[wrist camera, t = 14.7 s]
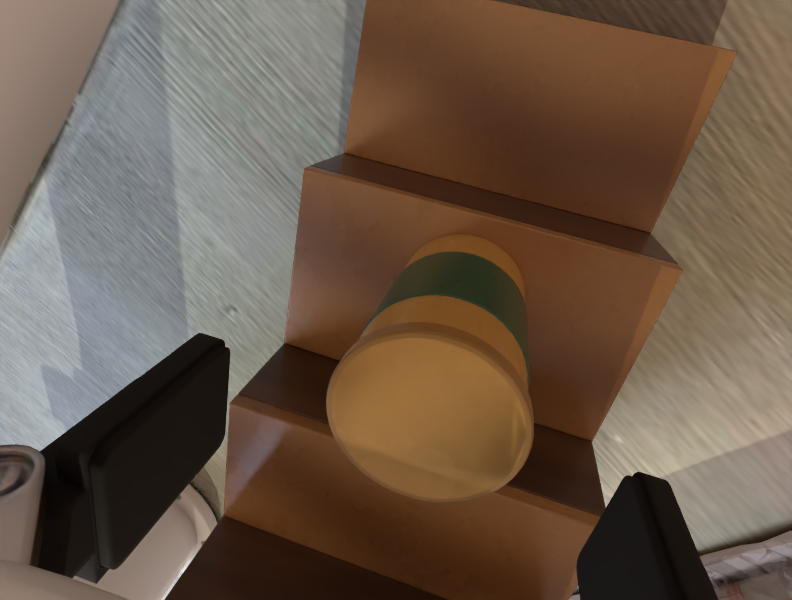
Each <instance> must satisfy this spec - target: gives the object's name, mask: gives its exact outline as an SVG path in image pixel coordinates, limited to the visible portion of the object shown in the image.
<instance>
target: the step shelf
mask: <svg viewBox="0 0 792 600" xmlns="http://www.w3.org/2000/svg"><path fill="white" fill-rule="evenodd" d="M736 54H737V51H733V50H728V49H724V48H719V47H714V46H709V45H705V44H700V43H695V42H690V41H686V40H681V39H676V38H671V37H667V36H662V35H657V34H652V33H647V32H643V31H638V30H633V29H628V28H624V27H619V26H614V25H609V24H605V23H600V22H595V21H590V20H586V19H581V18H576V17H571V16H567V15H562V14H557V13H552V12H548V11H543V10H538V9H533V8H529V7H524V6H519V5H514V4H510V3H505V2H500V1H495V0H367V1H366V8H365V15H364V21H363V28H362V34H361V41H360V48H359V54H358V61H357V68H356V74H355V81H354V88H353V94H352V101H351V108H350V114H349V121H348V128H347V134H346V141H345V147H344V153H343V154H341V155H338V156H335V157H333V158H330V159H327V160H324V161H322V162H319V163H316V164H314V165H311V166H309V167H306V168H305V169H304V175H303V184H302V193H301V201H300V210H299V219H298V227H297V236H296V245H295V254H294V262H293V271H292V280H291V288H290V297H289V306H288V314H287V323H286V332H285V341H284V344H283V345H282V347H281V348H280V349H279V350H278V351H277V352H276V353H275V354H274V355H273V356H272V357H271V358H270V360H269V361H268V362H267V363H266V364H265V365H264V366H263V367H262V368H261V369H260V370H259V371H258V373H257V374H256V375H255V376H254V377H253V378H252V379H251V380H250V381H249V382H248V383H247V385H246V386H245V387H244V388H243V389H242V390H241V391H240V392H239V394H238V395H237V396H236V397H235V398H234V399H233V400H232V401H231V402H230V409H229V427H228V445H227V463H226V481H225V498H224V516H222V518H221V519H220V521H219V522H218V523H217V525H216V526H215V528H214V529H213V531H212V532H211V533H210V535H209V536H208V538H207V539H206V541H205V542H204V544H203V545H202V546H201V548H200V549H199V551H198V552H197V554H196V555H195V557H194V558H193V559H192V561H191V562H190V564H189V565H188V567H187V568H186V570H185V571H184V572H183V574H182V575H181V577H180V578H179V580H178V581H177V583H176V584H175V585H174V587H173V588H172V590H171V591H170V593H169V594H168V596H167V597H166V598H165V600H569V598H570V597H571V595H572V594H573V592H574V590H575V589H576V587H577V586H578V579H577V572H576V565H577V559H578V556H579V553H580V552H581V550H582V548H583V546H584V545H585V543H586V541H587V540H588V538H589V536H590V534H591V533H592V531H593V529H594V528H595V526H596V524H597V523H598V521H599V519H600V517H601V516H602V514H603V512H604V511H605V509H606V507H605V503H604V498H603V493H602V488H601V483H600V479H599V474H598V469H597V464H596V459H595V454H594V450H593V445H592V441H593V439H594V437H595V435H596V433H597V432H598V430H599V428H600V426H601V424H602V422H603V420H604V418H605V417H606V415H607V413H608V411H609V409H610V407H611V405H612V403H613V401H614V400H615V398H616V396H617V394H618V392H619V390H620V388H621V386H622V385H623V383H624V381H625V379H626V377H627V375H628V373H629V371H630V369H631V368H632V366H633V364H634V362H635V360H636V358H637V356H638V354H639V352H640V351H641V349H642V347H643V345H644V343H645V341H646V339H647V337H648V336H649V334H650V332H651V330H652V328H653V326H654V324H655V322H656V320H657V319H658V317H659V315H660V313H661V311H662V309H663V307H664V305H665V304H666V302H667V300H668V298H669V296H670V294H671V292H672V290H673V288H674V287H675V285H676V283H677V281H678V279H679V277H680V275H681V273H682V271H683V269H682V268H681V267H680V266H679V265H678V263H677V262H676V261H675V260H674V259H673V258H672V257H671V256H670V254H669V253H668V252H667V251H666V250H665V249H664V248H663V247H662V246H661V245H660V243H659V242H658V241H657V240H656V239H655V238H654V237H653V236H652V235H651V234H650V233H651V232H652V230H653V228H654V226H655V224H656V222H657V219H658V217H659V215H660V213H661V211H662V209H663V207H664V205H665V203H666V201H667V199H668V196H669V194H670V192H671V190H672V188H673V186H674V184H675V182H676V180H677V178H678V176H679V173H680V171H681V169H682V167H683V165H684V163H685V161H686V159H687V157H688V155H689V152H690V150H691V148H692V146H693V144H694V142H695V140H696V138H697V136H698V134H699V132H700V129H701V127H702V125H703V123H704V121H705V119H706V117H707V115H708V113H709V111H710V109H711V106H712V104H713V102H714V100H715V98H716V96H717V94H718V92H719V90H720V88H721V86H722V83H723V81H724V79H725V77H726V75H727V73H728V71H729V69H730V67H731V65H732V62H733V60H734V58H735V56H736ZM457 234H464V235H472V236H477V237H481V238H483V239H486V240H488V241H490V242H493V243H494V244H496V245H497V246H499V247H500V248H502V249H503V250H504V251H505V252H506V253H508V254H509V256H510V257H511V258H512V259H513V260H514V262H515V263H516V265H517V266H518V268H519V270H520V272H521V275H522V278H523V281H524V287H525V305H526V310H527V320H528V346H529V387H528V393H529V396H530V399H531V402H532V408H533V418H534V437H533V442H532V447H531V450H530V453H529V456H528V458H527V460H526V461H525V463H524V465H523V467H522V468H521V469H520V471H519V472H518V473H517V474H516V476H515V477H514V478H512V479H511V480H510V481H509V482H508V483H507V484H506V485H504V486H503V487H501V488H500V489H498V490H496V491H494V492H492V493H490V494H488V495H486V496H483V497H480V498H477V499H474V500H469V501H464V502H455V503H437V502H427V501H422V500H417V499H413V498H410V497H406V496H403V495H400V494H398V493H395V492H393V491H391V490H389V489H387V488H385V487H383V486H381V485H379V484H378V483H376V482H375V481H373V480H371V479H370V478H369V477H367V476H366V475H365V474H364V473H362V472H361V471H360V470H359V469H358V468H357V467H356V466H355V465H354V464H353V463H352V462H351V461H350V460H349V459H348V458H347V456H346V455H345V454H344V453H343V451H342V450H341V448H340V447H339V445H338V444H337V442H336V440H335V438H334V436H333V434H332V431H331V428H330V425H329V421H328V416H327V408H326V397H327V389H328V385H329V382H330V379H331V377H332V374H333V372H334V370H335V369H336V367H337V365H338V364H339V362H340V361H341V359H342V358H343V356H344V355H345V353H346V352H347V351H348V350H349V349H350V348H351V347H352V346H353V345H354V344H355V343H356V342H358V340H359V338H360V335H361V333H362V331H363V329H364V327H365V326H366V324H367V323H368V321H369V320H370V318H371V317H372V315H373V314H374V312H375V310H376V309H377V307H378V306H379V304H380V303H381V301H382V300H383V298H384V297H385V295H386V293H387V292H388V290H389V289H390V287H391V286H392V284H393V283H394V281H395V280H396V278H397V277H398V276H399V274H400V273H401V272H402V271H403V270H404V268H405V266H406V265H407V263H408V262H409V260H410V259H411V257H412V256H413V255H414V254H415V253H416V252H417V251H418V250H419V249H420V248H421V247H422V246H424V245H426V244H427V243H429V242H431V241H433V240H435V239H437V238H440V237H444V236H448V235H457Z"/></svg>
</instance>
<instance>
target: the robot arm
mask: <svg viewBox="0 0 792 600" xmlns="http://www.w3.org/2000/svg"><path fill="white" fill-rule="evenodd" d="M229 365H230V350H229V348H227V347H225V343H224V341H223V340H222V339H219V338H215V337H212V336H209V335H206V334H203V333H198V334H197V335H195V336H194V337H192V338H191V339H190V340H188V341H187V342H186V343H184V344H183V345H182V346H180V347H179V348H178V349H176V350H175V351H174V352H172V353H171V354H170V355H169V356H167V357H166V358H165V359H163V360H162V361H161V362H159V363H158V364H157V365H155V366H154V367H153V368H151V369H150V370H149V371H147V372H146V373H145V374H143V375H142V376H141V377H139V378H137V379H136V380H134V381H133V382H132V383H130V384H129V385H128V386H126V387H125V388H124V389H122V390H121V391H120V392H118V393H117V394H116V395H114V396H113V397H112V398H111V399H109V400H108V401H107V402H105V403H104V404H103V405H101V406H100V407H99V408H97V409H96V410H95V411H93V412H92V413H91V414H89V415H88V416H87V417H85V418H84V419H83V420H81V421H80V422H79V423H77V424H76V425H75V426H73V427H72V428H71V429H69V430H68V431H67V432H65V433H64V434H63V435H61V436H60V437H59V438H57V439H56V440H55V441H53V442H52V443H51V444H49V445H48V446H47V447H45V448H44V449H43V450H41V451H40V452H39V451H38V450H36V449H34V448H32V447H30V446H24V445H17V444H15V445H1V446H0V600H161V599H162V597H163V596H164V595H165V593H166V592H167V590H168V589H169V587H170V586H171V585H172V583H173V582H174V580H175V579H176V577H177V576H178V575H179V573H183V572H184V571H185V570H186V568H187V567H188V565H189V564H190V562H191V561H192V559H193V558H194V557H195V555H196V554H197V552H198V551H199V549H200V548H201V546H202V545H203V544H204V542H205V541H206V539H207V538H208V536H209V535H210V533H211V532H212V531H213V529H214V528H215V526H216V525H217V521H216V518H215V516H214V514H213V512H212V510H211V509H210V507H209V505H208V504H207V503H206V501H205V500H204V499H203V497H202V496H201V495H200V494H199V493H198V492H197V491H196V490H195V489H194V488H193V487H192V486H191V485H190V484H189V483H190V482H191V481H192V479H193V478H194V477H195V476H196V475H197V473H198V472H199V471H200V470H201V469H202V467H203V466H204V465H205V464H206V463H207V461H208V460H209V459H210V458H211V457H212V455H213V454H214V453H215V452H216V451H217V449H218V448H219V447H220V445H221V443H222V441H223V439H224V436H225V428H226V412H227V396H228V380H229ZM576 572H577V579H578V587H579V594H580V600H718V597H717V595H716V593H715V590H714V588H713V585H712V583H711V580H710V578H709V576H708V573H707V571H706V569H705V567H704V565H703V564H702V561H701V559H700V556H699V554H698V552H697V549H696V547H695V544H694V542H693V539H692V537H691V535H690V532H689V530H688V527H687V525H686V522H685V520H684V518H683V515H682V513H681V510H680V508H679V505H678V503H677V501H676V498H675V496H674V493H673V491H672V488H671V486H670V484H669V483H668V482H667V481H666V480H664V479H660V478H657V477H654V476H651V475H648V474H645V473H641V472H636V473H635V474H634V475H633V476H625V477H624V478H623V480H622V481H621V483H620V485H619V487H618V488H617V490H616V492H615V493H614V495H613V497H612V499H611V500H610V502H609V504H608V505H607V507H606V509H605V511H604V512H603V514H602V516H601V517H600V519H599V521H598V523H597V524H596V526H595V528H594V529H593V531H592V533H591V534H590V536H589V538H588V540H587V541H586V543H585V545H584V546H583V548H582V550H581V552H580V553H579V556H578V559H577V565H576Z"/></svg>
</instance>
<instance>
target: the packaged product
mask: <svg viewBox="0 0 792 600" xmlns="http://www.w3.org/2000/svg"><path fill="white" fill-rule="evenodd" d="M700 559H701V561H702V564H703V565H704V567H705V569H706V571H707V573H708V576H709V578H710V580H711V583H712V585H713V588H714V590H715V593H716V595H717V597H718V600H792V530H791V531H788V532H786V533H783V534H781V535H778V536H776V537H773V538H771V539H768V540H766V541H763V542H761V543H754V544H747V545H740V546H736V547H732V548H728V549H724V550H720V551H717V552H713V553H709V554H705V555H701V556H700ZM569 600H580V594H577V595H573V596H571V597H570V598H569Z"/></svg>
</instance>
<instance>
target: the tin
mask: <svg viewBox="0 0 792 600" xmlns="http://www.w3.org/2000/svg"><path fill="white" fill-rule="evenodd" d="M528 387H529V346H528V320H527V310H526V305H525V287H524V281H523V278H522V275H521V272H520V270H519V268H518V266H517V265H516V263H515V262H514V260H513V259H512V258H511V257H510V256H509V254H508V253H506V252H505V251H504V250H503V249H502V248H500V247H499V246H497V245H496V244H494V243H493V242H490V241H488V240H486V239H483V238H481V237H477V236H472V235H464V234H457V235H448V236H444V237H440V238H437V239H435V240H433V241H431V242H429V243H427V244H426V245H424V246H422V247H421V248H420V249H419V250H418V251H417V252H416V253H415V254H414V255H413V256H412V257H411V259H410V260H409V262H408V263H407V265H406V266H405V268H404V270H403V271H402V272H401V273H400V274H399V276H398V277H397V278H396V280H395V281H394V283H393V284H392V286H391V287H390V289H389V290H388V292H387V293H386V295H385V297H384V298H383V300H382V301H381V303H380V304H379V306H378V307H377V309H376V310H375V312H374V314H373V315H372V317H371V318H370V320H369V321H368V323H367V324H366V326H365V327H364V329H363V331H362V333H361V335H360V338H359V340H358V342H356V343H355V344H354V345H353V346H352V347H351V348H350V349H349V350H348V351H347V352H346V353H345V355H344V356H343V358H342V359H341V361H340V362H339V364H338V365H337V367H336V369H335V370H334V372H333V374H332V377H331V379H330V382H329V385H328V389H327V397H326V408H327V416H328V421H329V425H330V428H331V431H332V434H333V436H334V438H335V440H336V442H337V444H338V445H339V447H340V448H341V450H342V451H343V453H344V454H345V455H346V456H347V458H348V459H349V460H350V461H351V462H352V463H353V464H354V465H355V466H356V467H357V468H358V469H359V470H360V471H361V472H362V473H364V474H365V475H366V476H367V477H369V478H370V479H371V480H373V481H375V482H376V483H378V484H379V485H381V486H383V487H385V488H387V489H389V490H391V491H393V492H395V493H398V494H400V495H403V496H406V497H410V498H413V499H417V500H422V501H427V502H437V503H455V502H464V501H469V500H474V499H477V498H480V497H483V496H486V495H488V494H490V493H492V492H494V491H496V490H498V489H500V488H501V487H503V486H504V485H506V484H507V483H508V482H509V481H510V480H511V479H512V478H514V477H515V476H516V474H517V473H518V472H519V471H520V469H521V468H522V467H523V465H524V463H525V461H526V460H527V458H528V456H529V453H530V450H531V447H532V442H533V437H534V418H533V408H532V402H531V399H530V396H529V393H528Z"/></svg>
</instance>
